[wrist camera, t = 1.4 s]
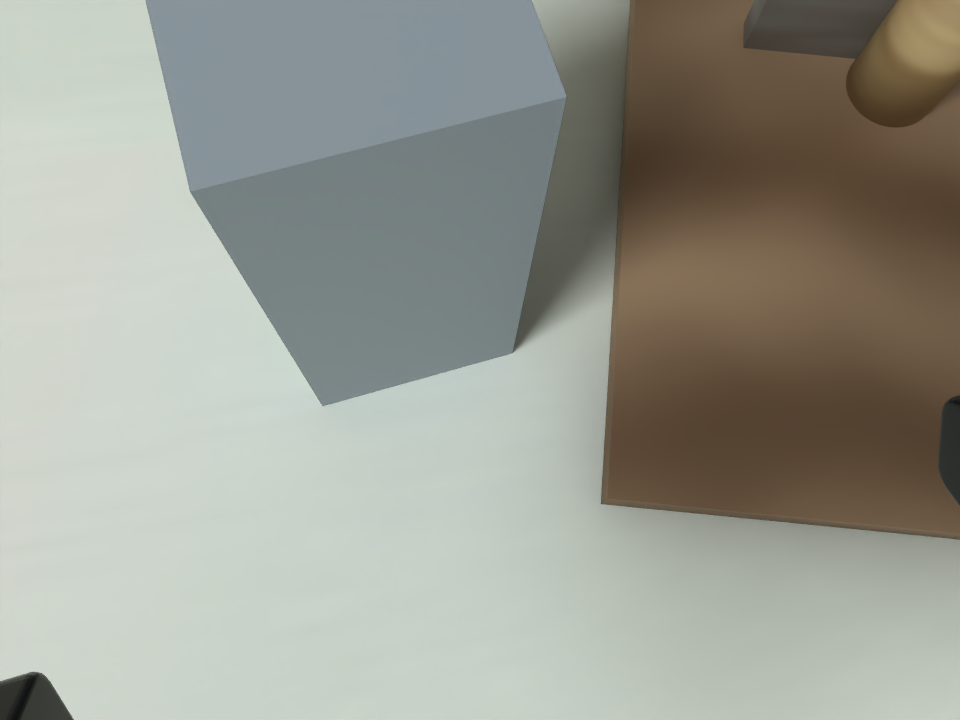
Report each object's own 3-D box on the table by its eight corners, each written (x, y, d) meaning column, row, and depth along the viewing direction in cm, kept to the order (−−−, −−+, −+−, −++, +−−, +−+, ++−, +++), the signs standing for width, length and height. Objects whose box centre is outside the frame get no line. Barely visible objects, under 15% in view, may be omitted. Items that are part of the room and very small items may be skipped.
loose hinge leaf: (512, 352, 24) (566, 96, 12) (322, 406, 23) (190, 191, 12) (449, 156, 25) (445, -238, 14) (270, 202, 25) (106, -167, 13)
